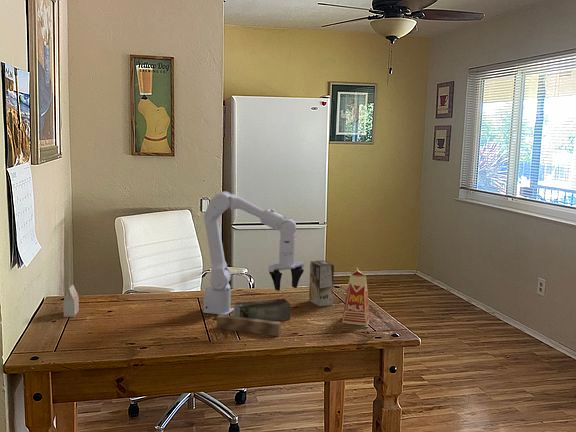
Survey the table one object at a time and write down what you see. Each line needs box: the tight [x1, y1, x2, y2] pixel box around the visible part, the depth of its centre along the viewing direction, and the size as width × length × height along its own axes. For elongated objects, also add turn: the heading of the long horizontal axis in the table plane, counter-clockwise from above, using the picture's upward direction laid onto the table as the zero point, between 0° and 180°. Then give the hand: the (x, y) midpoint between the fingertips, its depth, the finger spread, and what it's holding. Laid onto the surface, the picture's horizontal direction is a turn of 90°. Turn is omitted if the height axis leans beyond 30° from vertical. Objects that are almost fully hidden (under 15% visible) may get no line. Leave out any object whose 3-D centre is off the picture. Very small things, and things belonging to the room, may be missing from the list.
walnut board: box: [216, 314, 282, 337], centre depth 195 cm, size 22×2×4 cm, turn 73°
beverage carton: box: [234, 298, 291, 322], centre depth 209 cm, size 8×19×7 cm, turn 109°
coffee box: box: [308, 260, 335, 307], centre depth 230 cm, size 9×6×16 cm
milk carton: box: [341, 267, 370, 327], centre depth 208 cm, size 9×9×20 cm
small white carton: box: [62, 284, 80, 318], centre depth 208 cm, size 4×7×10 cm, turn 8°
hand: (285, 288), depth 213 cm, fingers open, 7 cm apart
